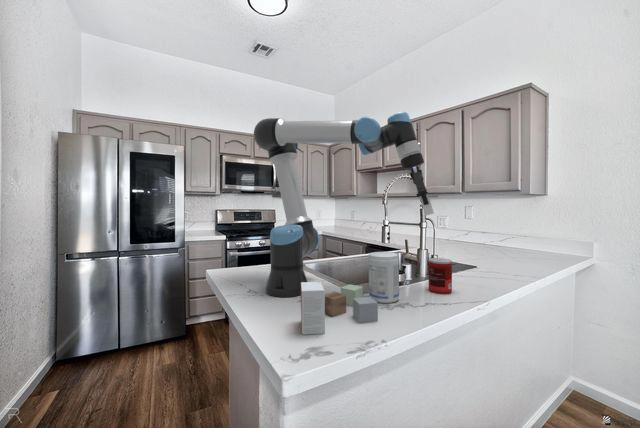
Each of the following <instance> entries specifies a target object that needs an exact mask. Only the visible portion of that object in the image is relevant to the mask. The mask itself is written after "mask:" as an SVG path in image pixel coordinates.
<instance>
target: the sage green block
mask: <svg viewBox="0 0 640 428" xmlns="http://www.w3.org/2000/svg"><path fill="white" fill-rule="evenodd" d="M340 294H343V295H346V306H350V307H353V298H362V297H364V286H361V285H356V284H351V283H350V284H347V285H345V286H342V287H340Z"/></svg>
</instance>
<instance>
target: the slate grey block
mask: <svg viewBox="0 0 640 428" xmlns="http://www.w3.org/2000/svg"><path fill="white" fill-rule="evenodd" d="M378 304H379V302H376V301H375V300H374V299H372V298H371V297H369V296H363V297H362V298H353V306H352V316H353V317H354V319H355V320H356V321H357V322H358V323H359V324H364V323H365V324H366V323H367V324H368V323H373V322H375V323H377V322H378V319H379V317H378V315H379V314H378V313H379V310H378V308H379V307H378V306H379V305H378Z"/></svg>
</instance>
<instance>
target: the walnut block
mask: <svg viewBox="0 0 640 428" xmlns="http://www.w3.org/2000/svg"><path fill="white" fill-rule="evenodd" d="M343 314H347V305H346V295H343V294H341V292H337V291H331V292H327V293H325V315H328V316H329V317H331V318H334V317H338V316H341V315H343Z"/></svg>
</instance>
